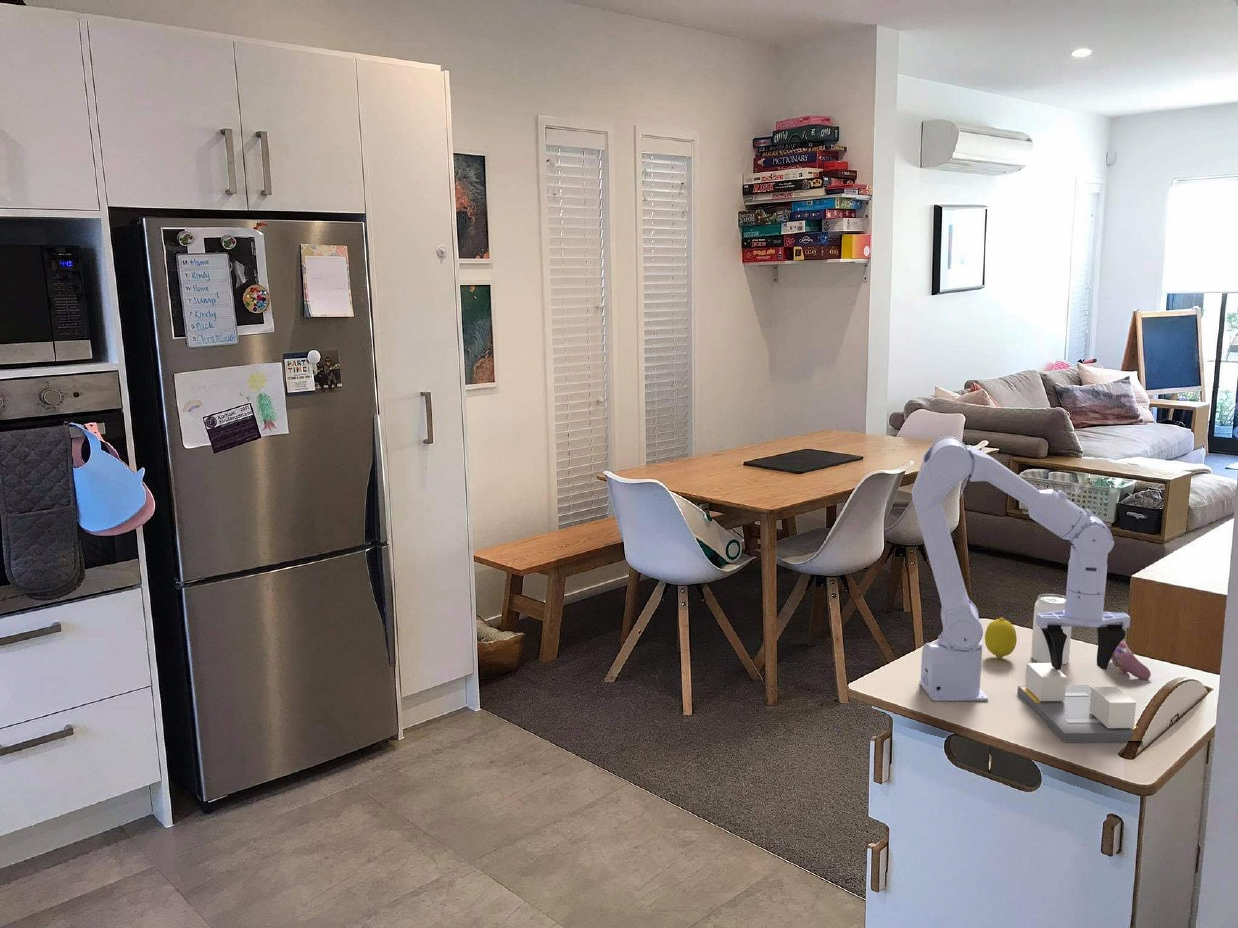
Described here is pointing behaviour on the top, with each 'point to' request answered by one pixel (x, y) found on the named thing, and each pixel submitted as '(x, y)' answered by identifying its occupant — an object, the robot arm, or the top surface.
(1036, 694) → the switch back
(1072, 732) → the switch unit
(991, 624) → the lemon
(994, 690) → the top surface
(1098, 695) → the switch front
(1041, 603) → the can
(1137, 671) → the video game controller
